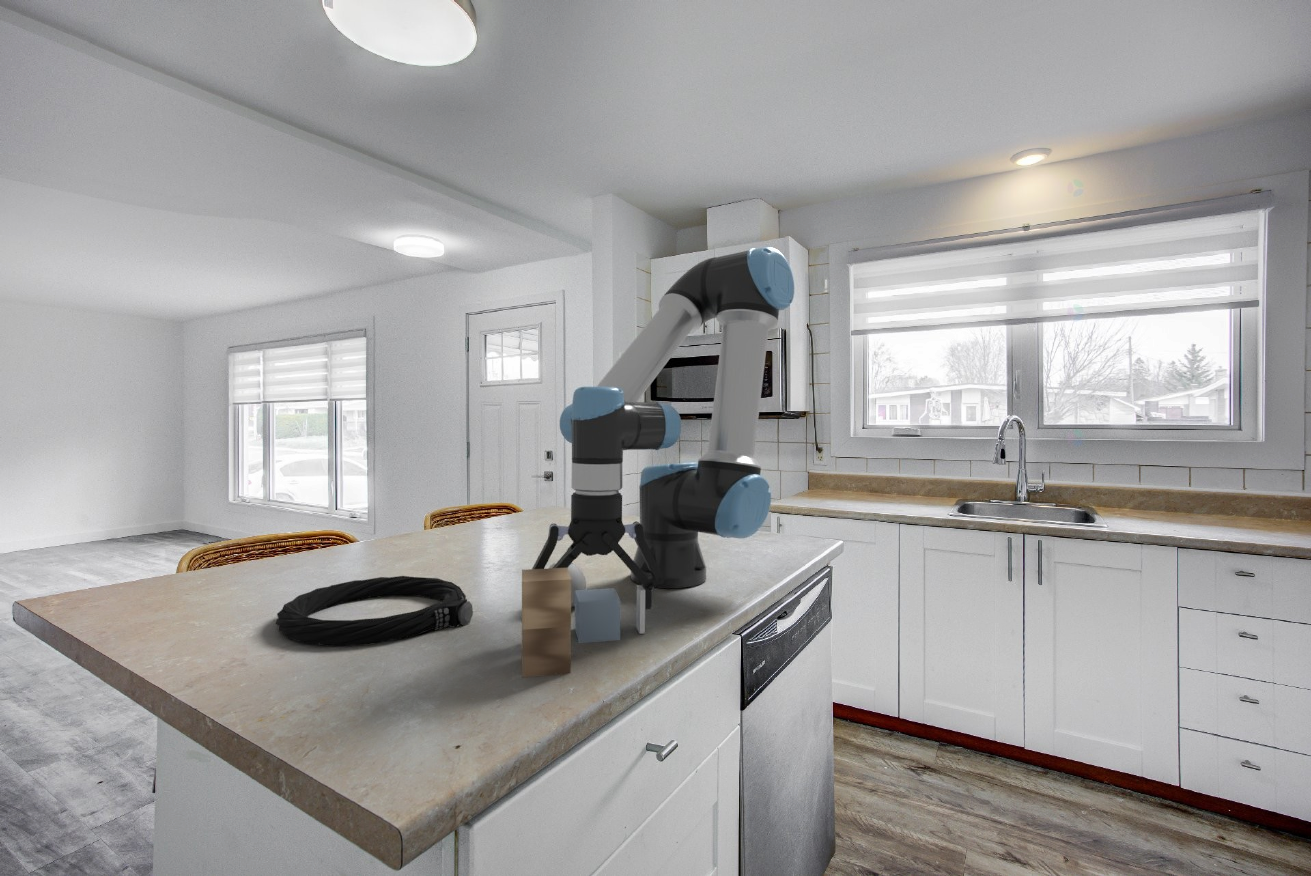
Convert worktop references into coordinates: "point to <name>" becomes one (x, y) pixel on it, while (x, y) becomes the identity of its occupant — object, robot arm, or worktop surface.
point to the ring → (375, 629)
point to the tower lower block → (546, 651)
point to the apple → (575, 580)
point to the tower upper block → (546, 598)
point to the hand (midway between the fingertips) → (595, 633)
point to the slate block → (597, 615)
